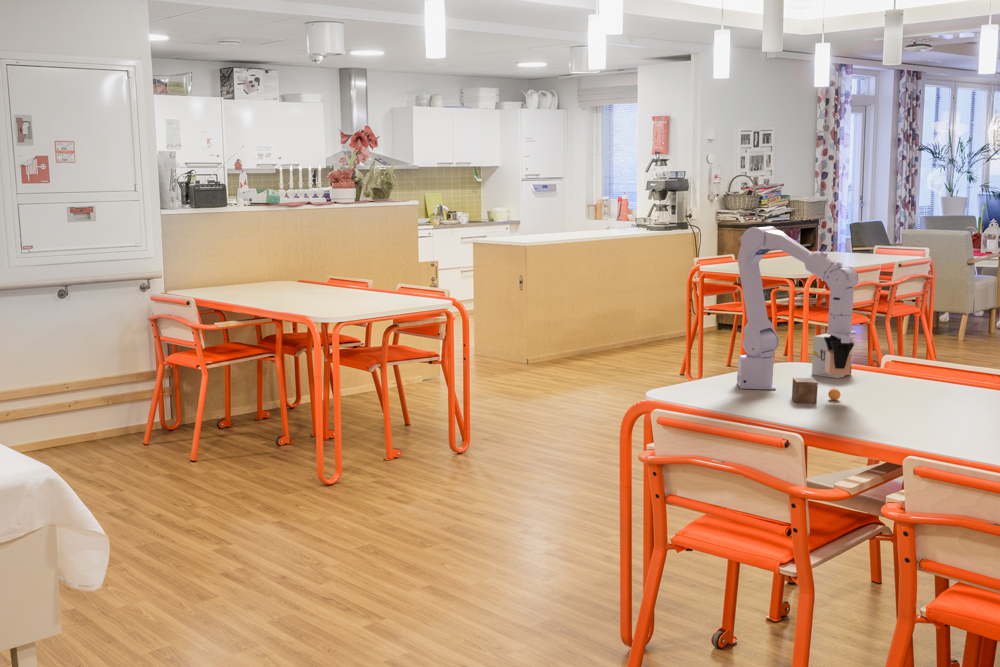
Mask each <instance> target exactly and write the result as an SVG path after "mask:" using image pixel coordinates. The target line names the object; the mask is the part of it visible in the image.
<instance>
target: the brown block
mask: <svg viewBox="0 0 1000 667" xmlns="http://www.w3.org/2000/svg"><path fill="white" fill-rule="evenodd" d="M818 384H819V382H818V381H817V380H816V379H815V378H813V377H809V378H808V377H792V388H791V390H792V391H791V399H792V401H793V402H794V403H795V404H817V402H818Z"/></svg>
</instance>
